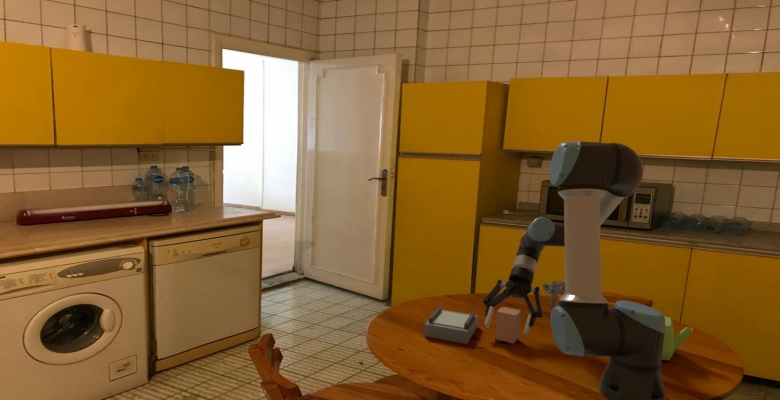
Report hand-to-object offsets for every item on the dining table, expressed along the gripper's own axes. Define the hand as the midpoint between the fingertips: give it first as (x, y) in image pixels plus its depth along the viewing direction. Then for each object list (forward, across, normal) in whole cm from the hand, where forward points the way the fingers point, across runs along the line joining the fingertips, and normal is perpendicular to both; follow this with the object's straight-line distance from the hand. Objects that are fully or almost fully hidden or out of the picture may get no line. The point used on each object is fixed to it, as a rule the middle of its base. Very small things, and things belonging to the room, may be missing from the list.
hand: (505, 330), depth 157 cm
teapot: (-11, -41, -17) cm, 45 cm away
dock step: (+3, +18, -3) cm, 18 cm away
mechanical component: (-29, -5, -35) cm, 46 cm away
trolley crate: (+1, 0, -5) cm, 5 cm away
